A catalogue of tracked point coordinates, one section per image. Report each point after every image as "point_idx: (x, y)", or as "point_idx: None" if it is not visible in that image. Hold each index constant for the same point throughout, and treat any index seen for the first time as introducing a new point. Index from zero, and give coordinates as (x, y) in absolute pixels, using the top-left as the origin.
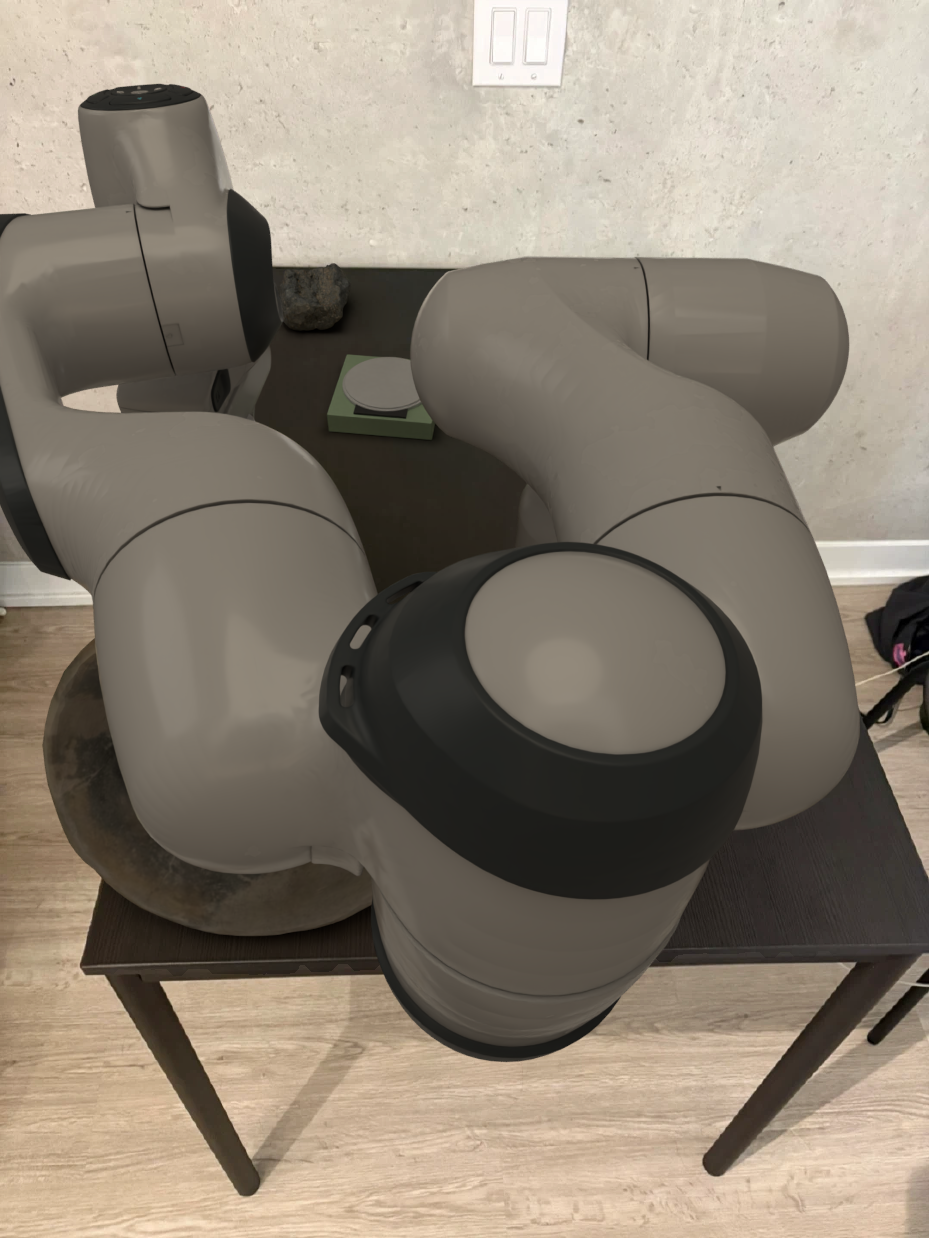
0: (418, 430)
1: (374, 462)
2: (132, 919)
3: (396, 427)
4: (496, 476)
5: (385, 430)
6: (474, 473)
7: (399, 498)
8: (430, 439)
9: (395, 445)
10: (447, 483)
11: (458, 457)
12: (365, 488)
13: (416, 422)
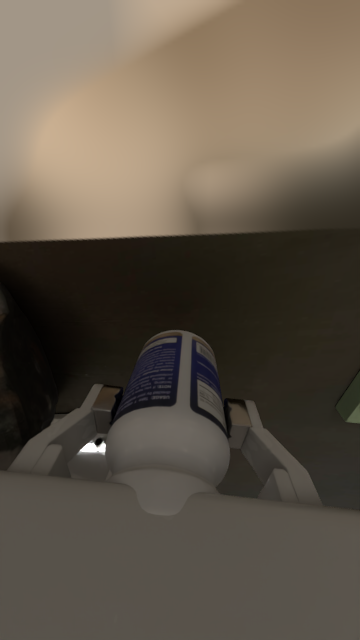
0: (345, 407)
1: (320, 373)
2: None
3: (355, 395)
4: (281, 434)
5: (357, 385)
6: (288, 425)
7: (271, 388)
8: (335, 407)
9: (337, 386)
10: (281, 413)
11: (308, 419)
12: (288, 368)
13: (351, 413)
